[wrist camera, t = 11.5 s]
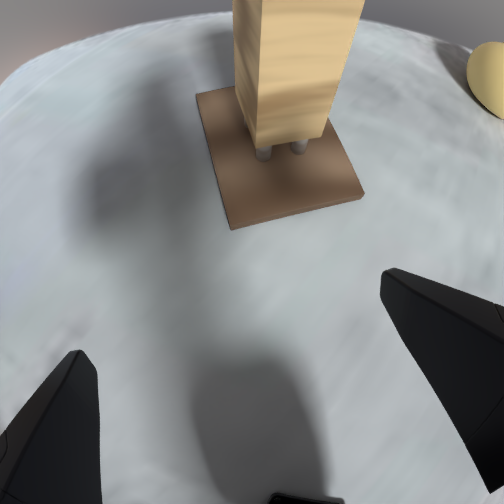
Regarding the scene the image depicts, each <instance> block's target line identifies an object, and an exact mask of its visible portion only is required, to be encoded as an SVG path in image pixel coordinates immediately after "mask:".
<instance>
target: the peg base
mask: <svg viewBox="0 0 504 504" xmlns="http://www.w3.org/2000/svg"><path fill="white" fill-rule="evenodd" d="M196 97H197V102H198V106H199V110H200V114H201V118H202V122H203V126H204V130H205V134H206V138H207V142H208V145H209V149H210V153H211V157H212V161H213V165H214V169H215V172H216V176H217V180H218V184H219V188H220V191H221V195H222V199H223V203H224V206H225V210H226V214H227V218H228V221H229V225H230V229H231V230H234V229H238V228H242V227H246V226H250V225H254V224H258V223H262V222H266V221H270V220H274V219H278V218H283V217H287V216H291V215H295V214H299V213H303V212H307V211H312V210H316V209H320V208H324V207H329V206H333V205H337V204H341V203H346V202H350V201H355V200H359V199H361V198H362V197H363V196H364V194H365V193H364V191H363V188H362V186H361V184H360V182H359V179H358V177H357V175H356V173H355V171H354V169H353V166H352V164H351V162H350V160H349V158H348V156H347V154H346V152H345V150H344V148H343V146H342V144H341V142H340V140H339V138H338V136H337V134H336V132H335V130H334V128H333V126H332V124H331V122H330V120H329V118H327V121H326V124H325V127H324V130H323V133H322V136H321V137H318V138H312V139H306V140H300V141H294V142H288V143H282V144H277V145H272V146H267V147H261V148H257V149H256V148H255V146H254V143H253V140H252V137H251V134H250V131H249V129H248V126H247V123H246V120H245V117H244V115H243V112H242V109H241V106H240V104H239V101H238V98H237V95H236V93H235V86H233V87H228V88H222V89H218V90H213V91H208V92H204V93H199V94H196Z"/></svg>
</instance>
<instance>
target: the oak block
mask: <svg viewBox="0 0 504 504" xmlns="http://www.w3.org/2000/svg"><path fill="white" fill-rule="evenodd" d="M232 1H233V2H232V3H233V36H234V66H235V93H236V95H237V98H238V101H239V104H240V106H241V109H242V112H243V115H244V117H245V120H246V123H247V126H248V129H249V131H250V134H251V137H252V140H253V143H254V146H255V148H256V149H257V148H261V147H267V146H272V145H277V144H282V143H288V142H294V141H300V140H306V139H312V138H318V137H321V136H322V133H323V130H324V127H325V124H326V121H327V118H328V115H329V112H330V109H331V106H332V103H333V100H334V97H335V94H336V91H337V88H338V85H339V82H340V79H341V75H342V72H343V69H344V66H345V63H346V60H347V57H348V54H349V50H350V47H351V44H352V41H353V38H354V34H355V31H356V28H357V25H358V21H359V18H360V15H361V11H362V8H363V5H364V1H365V0H232Z"/></svg>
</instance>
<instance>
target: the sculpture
mask: <svg viewBox="0 0 504 504" xmlns="http://www.w3.org/2000/svg"><path fill="white" fill-rule="evenodd" d="M466 73H467V81H468V84H469V87H470V89H471V91H472V92H473V94H474V95H475V96H476V98H477V99H478V100H479V101H480V102H481V103H482V104H483V105H484V106H485V107H486V108H487V109H488V110H490V111H491V112H492V113H493V114H495V115H496V116H498V117H499V118H501V119H503V120H504V42H503V43H500V42H487V43H484V44H482V45H480V46H478V47H477V48H476V49H475V50H474V51H473V52H472V53H471V55H470V57H469V59H468V63H467V70H466Z"/></svg>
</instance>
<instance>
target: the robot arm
mask: <svg viewBox="0 0 504 504" xmlns="http://www.w3.org/2000/svg"><path fill="white" fill-rule="evenodd" d="M380 298H381V301H382V303H383V305H384V306H385V308H386V310H387V312H388V314H389V316H390V318H391V320H392V322H393V324H394V325H395V327H396V329H397V331H398V333H399V335H400V337H401V339H402V340H403V342H404V344H405V345H406V347H407V348H408V350H409V351H410V353H411V355H412V356H413V358H414V359H415V361H416V362H417V364H418V366H419V367H420V369H421V370H422V372H423V373H424V375H425V377H426V378H427V380H428V382H429V383H430V385H431V386H432V388H433V390H434V391H435V393H436V395H437V396H438V398H439V400H440V401H441V403H442V405H443V407H444V408H445V410H446V412H447V413H448V415H449V417H450V419H451V420H452V422H453V424H454V426H455V428H456V429H457V431H458V433H459V435H460V437H461V438H462V440H463V442H464V444H465V446H466V448H467V450H468V452H469V454H470V456H471V458H472V460H473V461H474V463H475V465H476V467H477V469H478V471H479V473H480V475H481V477H482V479H483V481H484V484H485V486H486V488H487V490H488V492H489V493H490V494H491V493H493V492H494V491H496V490H497V489H499V488H500V487H502V486H503V485H504V306H501V305H498V304H494V303H493V302H490V301H488V300H485V299H482V298H479V297H477V296H474V295H471V294H469V293H466V292H463V291H460V290H457V289H455V288H452V287H449V286H446V285H444V284H441V283H438V282H435V281H432V280H429V279H426V278H424V277H421V276H418V275H415V274H412V273H409V272H406V271H403V270H400V269H398V268H391V269H388V270H385V271H383V273H382V275H381V286H380ZM275 498H280V499H279V500H274V499H275ZM0 504H102V492H101V475H100V413H99V398H98V377H97V371H96V368H95V367H94V365H93V364H92V362H91V361H90V360H89V358H88V357H87V355H86V354H85V353H84V351H82V350H74V351H70V352H69V353H68V354H67V355H66V356H65V357H64V358H63V360H62V361H61V362H60V363H59V364H58V365H57V366H56V368H55V369H54V370H53V371H52V372H51V373H50V375H49V376H48V377H47V378H46V379H45V381H44V382H43V383H42V384H41V385H40V387H39V388H38V389H37V390H36V391H35V393H34V394H33V395H32V396H31V397H30V399H29V400H28V401H27V402H26V404H25V405H24V406H23V407H22V409H21V410H20V411H19V412H18V414H17V415H16V416H15V418H14V419H13V420H12V421H11V423H10V424H9V425H8V427H7V428H6V430H4V432H3V433H2V434H1V436H0ZM267 504H339V503H331V502H324V501H318V500H312V499H306V498H301V497H295V496H291V495H286V494H281V493H274V494H272V495H271V497H270V499H269V501H268V502H267Z"/></svg>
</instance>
